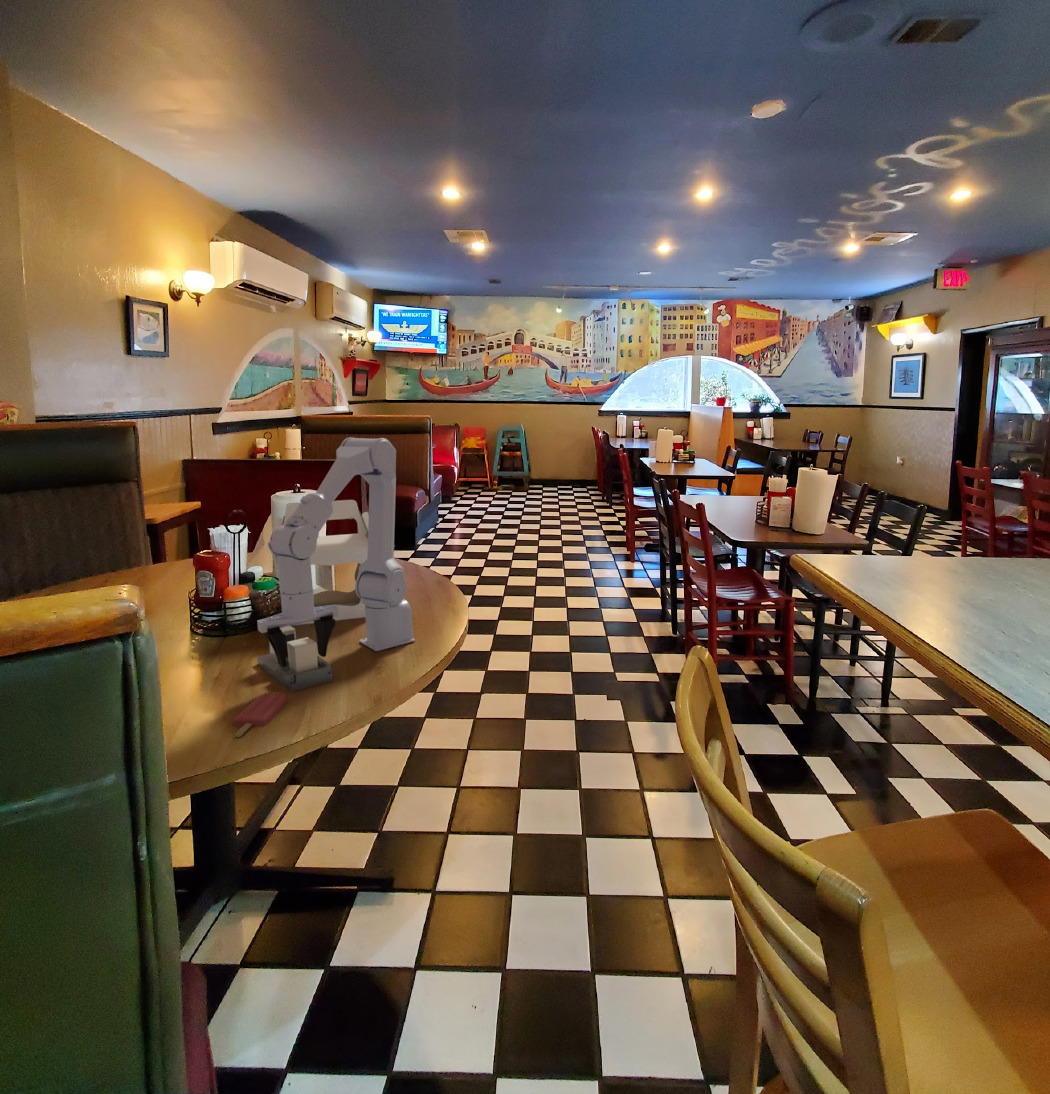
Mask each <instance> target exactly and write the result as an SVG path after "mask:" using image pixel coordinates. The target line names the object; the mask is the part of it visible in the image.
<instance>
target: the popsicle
mask: <svg viewBox="0 0 1050 1094" xmlns="http://www.w3.org/2000/svg"><path fill="white" fill-rule="evenodd" d="M286 703H287V696H286V694H285V693H283V692H280V691H276V692H275V691H273V692H272V691H271V692H266V693H263V694H261V695H259V696H257V697H256V698H255V699H254V700H253V701H251V703H249V704H248V705H247V706H246V707H245V708H244V709H243V710H242V711H241V712H240V713H239V714H238V715H237V716H236V717H235V718H233V724H234V726H236V727H237V726H240V728H239V729H238V730H237V731H236V732H235V734H233V735H234V738H240V737H241V738H242V736H243V735H244V734H245V733H246V732H247V731H248V730H249V729H250V728H251V727H266V726H268V724H269V723H270V722H271V721H272V719H274V717H276V715H278V713H279V712H280V711H281V709H282V708H283V707H284V706H285V705H286Z"/></svg>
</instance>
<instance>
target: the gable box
mask: <svg viewBox="0 0 1050 1094" xmlns="http://www.w3.org/2000/svg"><path fill="white" fill-rule="evenodd" d="M300 503H301V502H289V503H288V504H286V506H285V512H284V515H283V517H282V518H281V517H278V516H277V517H275V526H274V527H275V529H276V528H278V527H281V526H282V525H285V523H286V522H287V520H288V518H289V517H291V515H292V514H293V513H294V511H295V510H296V508H297V507H298V506H299V504H300ZM332 507H333V513H332V514H331V516H330V517H329V518H328V520H327V521H332V520H346V519H347V520H348V519H349V520H353V519H354V520H355V521H356V524H357V533H349V534H348V533H347V534H334V535H333V534H332V535H321V536H319V535H318V536H319V537H318V538H317V545H316V549H315V552H314V553H312V555H311V556H310V561H311V566H312V565H313V566H314V565H315V566H317V565H318V566H338V565H339V566H340V565H344V564H349V563H356V564H357V565H356V569H355V572H354V581H355V583H356V580H357V577H358V573H359V566H360V565H361V564H362V563H363V562H364V561H365V560H367V558H368V521H369V511H363V513H362V512H361V511H360V510H359V507H358V502H357V501H356V500H354V499H342V500H341V499H340V500H339V499H338V500H334V501H333V502H332ZM275 529H274V530H275ZM313 598H314V607H321V606H329V605H335V606H337V607H338V617H333V619H335V621H337V622H338V621H345V620H354V619H362V618H363V619H364V618H365V604H362V599H361V598H359V597H358V596H357V594H356V590H355V589H354V590H352V591H341V590H323V591H320V592H317V593H313ZM310 624H311V625H312V624H314V621H309V622H305V623H300V624H296V625H295V626H300V625H310ZM293 626H294V625H291V627H293Z"/></svg>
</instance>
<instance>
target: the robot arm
mask: <svg viewBox="0 0 1050 1094" xmlns="http://www.w3.org/2000/svg"><path fill="white" fill-rule="evenodd" d="M335 452H336V453H335V455H336V456H335V457H336V459H335V461H334V462H333V464H332V465H331V467H330V469H329V471H328V472H327V474H326V476H325V477H324V479H323V480H322V482H321V484H320V485H319V487H318V489H317V490H316V492H314V493H313V492H312V493H308V494H306V495H303V496H302V497H301V498H300V500H299V501H300V502H299V503H300V504H299V506H298V507H297V508H296V510H295V511H294V513H293V514H292V515H291V517H289V518H288V520H287V522H286V523H285V525H282V526H281V527H278V528H276V529H274V530H273V531H272V533H271V535H270V539H269V542H267V547H268V549H269V551H270V553H271V554H272V555H273V557H274V562H275V564H276V565H277V572H278V583H279V596H280V605H281V613H278V614H275V615H272V616H268V617H265V618H262V619H259V620H258V619H257V620H256V621H257V623H256V624H257V630H258V632H260V633H262V634H263V635H264V636H265V638H267V640H268V642H270V644H271V645H272V647H273V649H274V652H275V654H276V657H277V660H278V664H279V665H280V666H281V667H286V656H285V634H283V633H282V630H280V628H282V627H287V626H291V625H293V626H297V625H296V624H300V623H305V622H309V621H314V623H313V624H314V628H315V634H316V649H317V655H318V656H319V657H320V656H321V658H324V657H327V650H328V645H329V641H330V639H331V636H332V634H333V631H334V629H335V628H336V627H335V626H336V624H337V623H336V621H335V619H333V617H338V607H337V606H335V605H329V606H321V607H314V598H313V594H314V589H313V588H314V587H313V577H312V576H313V575H312V565H311V561H310V556H311V555H312V553H314V552H315V549H316V545H317V538H318V537H319V535H320V531H321V530H322V529H323V527H324V526H325V524H326V523H327V521H329V520H328V518H329V517H330V516H331V514H332V513H333V507H332V502H333V501H336V498H337V497H338V496H339V495H340V494H341V492H342V491H343V490H344V489H345V487H346V486H348V484H349V483H350V482H351V481H352V479H353V478H354V477H355V476H358V475H359V476H361V477H362V478H363V479H364V480H365V482H367V484H368V485H369V487H368V488H369V489H368V490H369V492H368V494H369V495H368V516H369V521H368V558H367V560H365V561H364V562H363V563H362V564H361V565H360V566H359V573H358V577H357V580H356V582H355V584H354V586H355V587H354V590H356V594H357V596H358V597H359V598H361V599H362V604H365V617H364V618H365V629H366V630H365V631H366V637H364V638H361V639H359V643H361V644H363V645H364V646H366V647H368V648H370V649H371V650H373V651H375V652H379V651H383V650H387V649H391V648H394V647H398V646H403V645H405V644H409V643H413V642H415V640H416V639H415V638H414V632H413V627H414V626H413V612H412V608H411V606H410V603H409V602H408V601H407V600H406V599H405V596H406V593H407V583H406V579H405V569H404V568H403V566H401V564H400V563H399V562H397V561H396V560H395V558H394V557H395V556H394V555H395V554H394V553H395V525H396V524H395V523H396V494H397V493H396V492H397V491H396V490H397V487H396V486H397V475H396V472H397V470H396V468H397V449H396V448H395V447H394V445H393V444H392V443H391V441H390V440H388V439H387V438H385V437H380V438H365V437H364V438H363V437H361V438H360V437H356V438H355V437H354V436H353V437H351V436H350V437H346V438H345V439H343V441H342V442H341V444H340V446H339V447H338V448H337V449H336V451H335ZM291 627H292V626H291Z"/></svg>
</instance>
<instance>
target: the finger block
mask: <svg viewBox="0 0 1050 1094" xmlns="http://www.w3.org/2000/svg"><path fill="white" fill-rule="evenodd" d="M287 649H288V659H289V670H290V671H291V672H292V673H293V674H294V673H298V672H302V671H306V670H309V669H313V668H317V667H318V661H317V656H318V649H317V641H314V640H313V639H311V638H310V637H308V636H306V637H302V638H298V639H296V640H293V641H289V642H287Z"/></svg>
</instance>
